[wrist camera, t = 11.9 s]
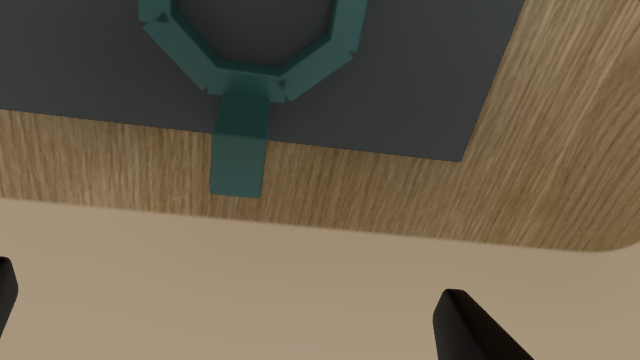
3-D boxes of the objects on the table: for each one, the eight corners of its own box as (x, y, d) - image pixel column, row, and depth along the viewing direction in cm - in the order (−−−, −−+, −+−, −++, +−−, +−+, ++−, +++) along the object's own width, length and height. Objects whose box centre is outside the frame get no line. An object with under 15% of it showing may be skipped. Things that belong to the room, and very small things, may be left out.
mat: (548, -83, 15) (558, -82, 14) (456, 155, 20) (460, 162, 19) (-74, -211, 12) (-89, -214, 12) (1, 101, 17) (-8, 108, 16)
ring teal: (137, -171, 12) (83, -186, 9) (387, -120, 13) (421, -116, 10) (151, 125, 17) (118, 186, 14) (332, 146, 18) (342, 207, 15)
